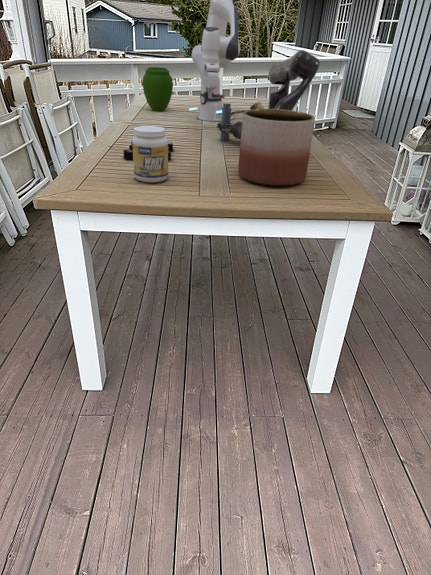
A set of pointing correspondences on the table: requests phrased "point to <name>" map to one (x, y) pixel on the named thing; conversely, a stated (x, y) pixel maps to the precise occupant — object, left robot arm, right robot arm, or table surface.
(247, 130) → the planter
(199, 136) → the table surface
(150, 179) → the supplement tub
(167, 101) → the vase
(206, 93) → the lid
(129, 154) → the black printed glove
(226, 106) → the dark grey cylinder
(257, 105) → the seashell
